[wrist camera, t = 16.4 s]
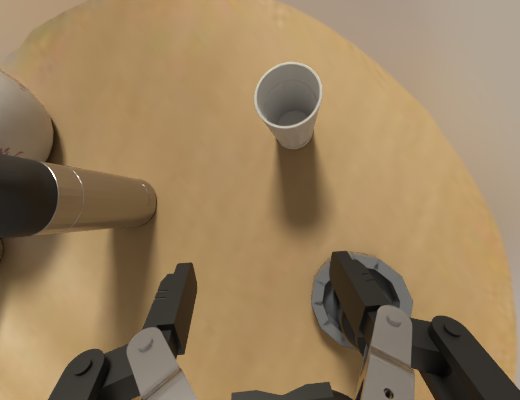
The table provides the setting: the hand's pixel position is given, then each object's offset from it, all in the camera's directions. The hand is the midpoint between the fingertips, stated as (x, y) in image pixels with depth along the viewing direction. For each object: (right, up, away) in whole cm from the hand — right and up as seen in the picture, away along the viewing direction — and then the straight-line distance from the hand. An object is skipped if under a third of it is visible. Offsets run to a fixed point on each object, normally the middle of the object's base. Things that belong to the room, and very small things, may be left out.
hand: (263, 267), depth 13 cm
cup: (+6, +16, +25) cm, 30 cm away
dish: (+15, -11, +22) cm, 28 cm away
